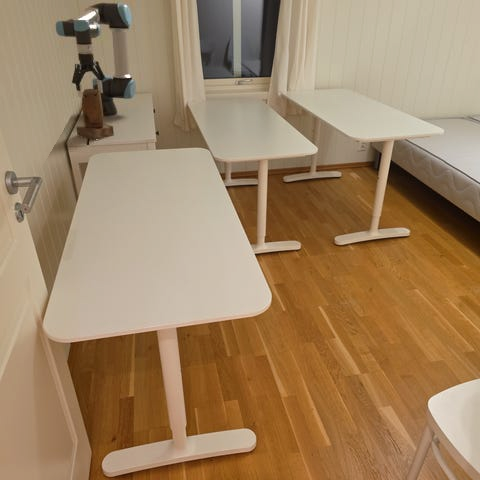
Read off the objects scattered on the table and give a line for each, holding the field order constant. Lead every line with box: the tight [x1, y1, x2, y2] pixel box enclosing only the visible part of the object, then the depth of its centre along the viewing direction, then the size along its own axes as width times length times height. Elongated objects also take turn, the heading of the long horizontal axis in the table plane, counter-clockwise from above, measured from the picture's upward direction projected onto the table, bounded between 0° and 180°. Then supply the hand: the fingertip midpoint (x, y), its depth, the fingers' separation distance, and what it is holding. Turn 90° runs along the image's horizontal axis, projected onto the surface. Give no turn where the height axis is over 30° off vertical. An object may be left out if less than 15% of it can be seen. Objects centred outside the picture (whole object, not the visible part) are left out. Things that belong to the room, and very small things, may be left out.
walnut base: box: [75, 123, 115, 141], centre depth 253 cm, size 14×14×5 cm
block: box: [81, 88, 105, 128], centre depth 247 cm, size 11×8×20 cm
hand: (90, 94), depth 243 cm, fingers open, 13 cm apart
